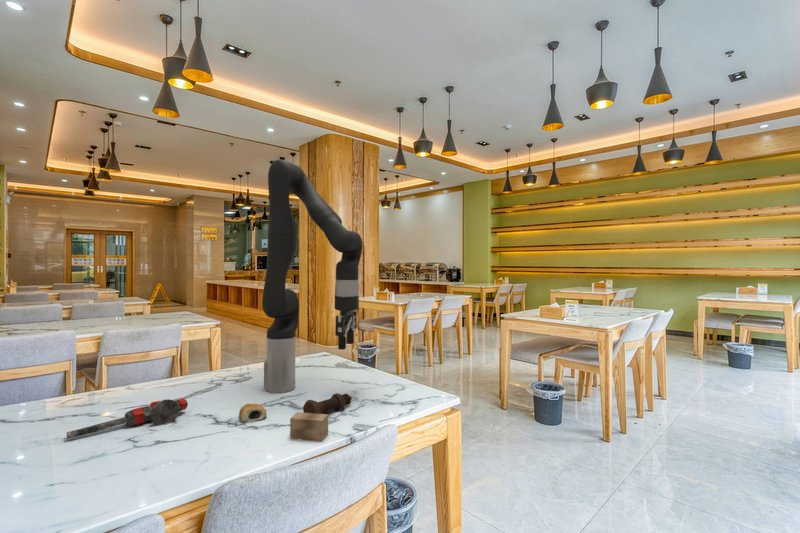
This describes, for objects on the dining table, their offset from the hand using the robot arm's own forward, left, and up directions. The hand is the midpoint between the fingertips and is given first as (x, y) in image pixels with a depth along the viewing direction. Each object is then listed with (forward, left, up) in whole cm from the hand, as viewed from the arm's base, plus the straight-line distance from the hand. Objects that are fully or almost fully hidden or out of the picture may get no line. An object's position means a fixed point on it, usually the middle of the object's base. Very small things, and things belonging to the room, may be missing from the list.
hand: (346, 346), depth 123 cm
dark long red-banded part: (-49, -29, -17) cm, 59 cm away
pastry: (-20, -20, -16) cm, 33 cm away
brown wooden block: (0, -29, -16) cm, 33 cm away
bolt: (-1, -13, -16) cm, 21 cm away
